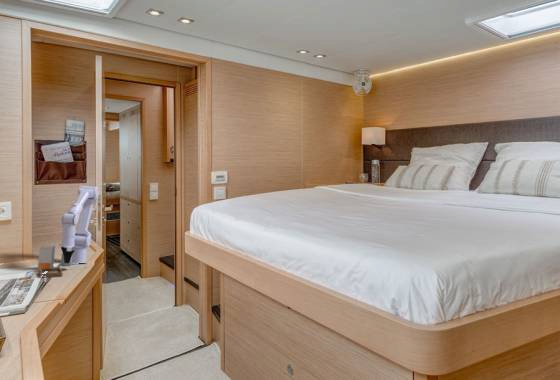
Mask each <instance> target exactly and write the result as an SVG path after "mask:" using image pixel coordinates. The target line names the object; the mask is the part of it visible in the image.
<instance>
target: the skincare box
mask: <svg viewBox="0 0 560 380" xmlns="http://www.w3.org/2000/svg"><path fill="white" fill-rule="evenodd" d="M55 250H56V245H41V246H39V250H38V260H37V261H38V262H37V270H39V271H40V269H52V268H53V269H54V264H55V263H54V262H55Z"/></svg>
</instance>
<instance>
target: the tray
mask: <svg viewBox="0 0 560 380" xmlns="http://www.w3.org/2000/svg"><path fill="white" fill-rule="evenodd" d="M45 271H48V273H46V274H42V273H44V272H45ZM63 274H64V273H63V270H62V268H61V267H58V268H55V267H53V269H40V270H39V276H40V275H41V276H42V275H43V276H47V277H46V278H59V277H60V278H61V277H63Z"/></svg>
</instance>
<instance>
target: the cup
mask: <svg viewBox="0 0 560 380" xmlns="http://www.w3.org/2000/svg"><path fill="white" fill-rule="evenodd" d="M72 265H73V264H72V257H71V260H70V263H65V262H64V254H63V253H61V260H60V266H61V267H64V268H65V267H72Z"/></svg>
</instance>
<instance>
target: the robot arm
mask: <svg viewBox="0 0 560 380" xmlns="http://www.w3.org/2000/svg"><path fill="white" fill-rule="evenodd" d="M99 194H100V189H99V186H91V185H82V184H80V185H79V186H78V188H77V199H76V200H75V202H73V203H71V205H70V207H69V208H68V210H67V212H65V213H63V215H62V217H61V227H62V234H61V235H62V236H61V238H62V239H61V243H60V244H58V246H59V247H60V249H61V252H62V254H64V262H65V263H70V260H71V257H72V265H80V264H79V263H83V262H85V261H87V251H88V248H89V247H90V246H91V243H92V236H93V235H92V233H91V232H90V231H89V230H88V229H89V225H90V221H91V216H92V212H93V208H94V204H95V203H96V202H98V199H99ZM77 224H78V226H77ZM76 227H77V229H76Z"/></svg>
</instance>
